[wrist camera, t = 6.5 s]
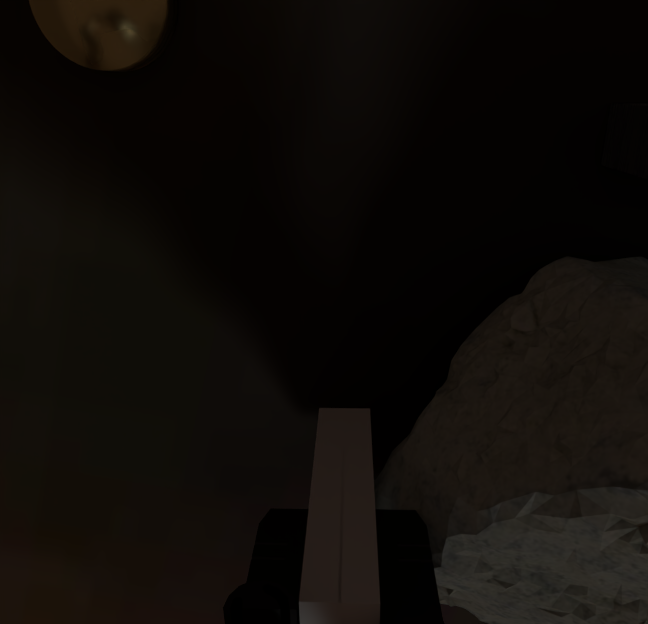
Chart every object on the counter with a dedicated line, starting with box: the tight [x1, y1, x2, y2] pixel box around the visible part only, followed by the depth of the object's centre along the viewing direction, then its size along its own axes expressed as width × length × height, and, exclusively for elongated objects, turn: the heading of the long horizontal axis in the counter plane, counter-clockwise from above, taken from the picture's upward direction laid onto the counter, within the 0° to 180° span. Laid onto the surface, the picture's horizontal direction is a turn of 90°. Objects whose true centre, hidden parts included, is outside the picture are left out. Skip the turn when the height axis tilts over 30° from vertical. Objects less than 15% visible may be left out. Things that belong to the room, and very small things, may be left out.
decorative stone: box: [374, 256, 648, 624], centre depth 15 cm, size 13×11×10 cm
